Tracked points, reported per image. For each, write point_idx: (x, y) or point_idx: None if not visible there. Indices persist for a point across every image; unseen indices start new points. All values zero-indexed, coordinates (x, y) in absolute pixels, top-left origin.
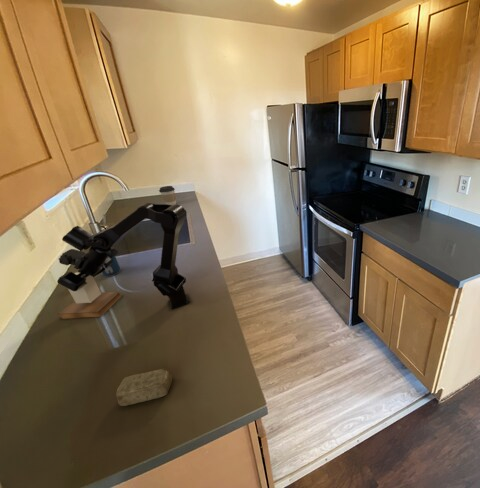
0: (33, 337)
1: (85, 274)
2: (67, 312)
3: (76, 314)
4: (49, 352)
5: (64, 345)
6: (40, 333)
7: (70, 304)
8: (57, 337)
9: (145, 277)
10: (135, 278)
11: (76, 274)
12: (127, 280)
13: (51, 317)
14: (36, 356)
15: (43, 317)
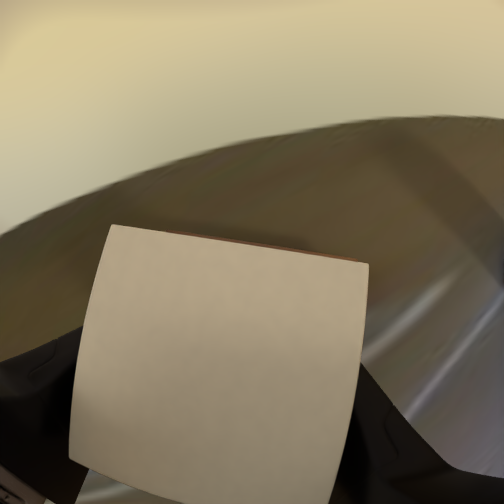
0: (90, 207)
1: (232, 496)
2: None
3: None
4: (3, 314)
5: (14, 349)
6: (103, 216)
7: (247, 244)
8: (54, 301)
9: (463, 466)
10: (472, 423)
11: (286, 327)
12: (468, 393)
13: (209, 189)
14: (2, 283)
15: (221, 158)
